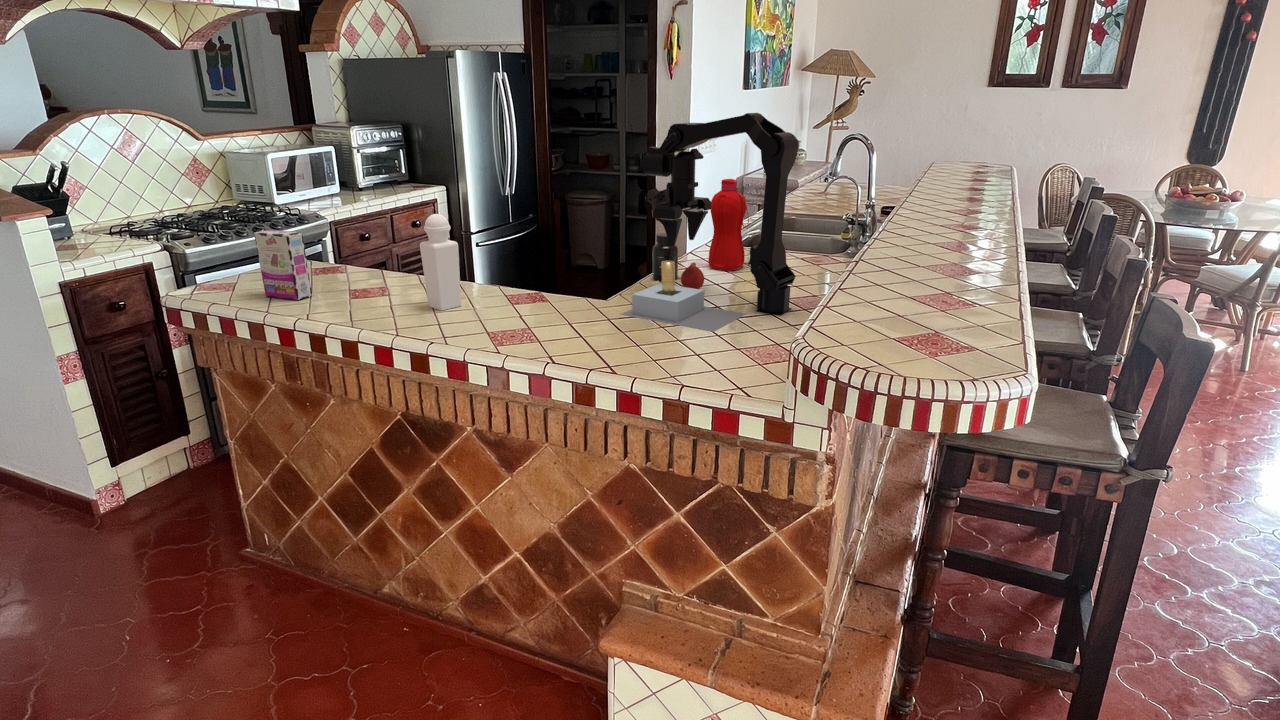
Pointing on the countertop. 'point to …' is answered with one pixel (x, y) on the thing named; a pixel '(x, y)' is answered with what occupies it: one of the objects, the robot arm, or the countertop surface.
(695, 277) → the onion
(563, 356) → the countertop surface
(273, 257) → the candy bar box
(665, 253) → the supplement bottle
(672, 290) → the brass pin
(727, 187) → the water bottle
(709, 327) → the rubber mat
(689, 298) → the socket block
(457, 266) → the square decanter bottle
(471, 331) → the countertop surface
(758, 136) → the robot arm
